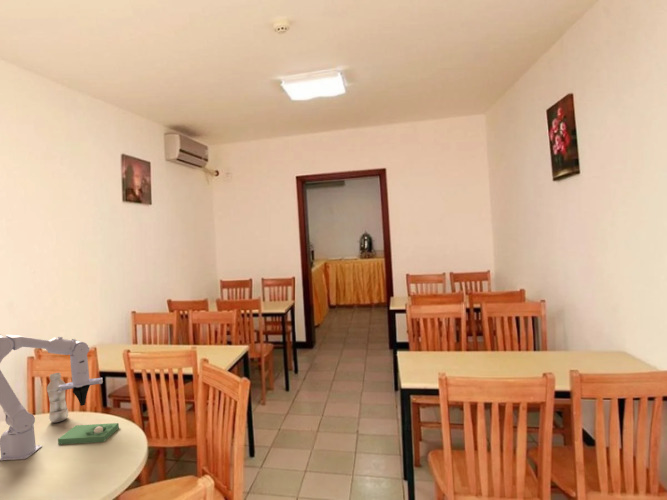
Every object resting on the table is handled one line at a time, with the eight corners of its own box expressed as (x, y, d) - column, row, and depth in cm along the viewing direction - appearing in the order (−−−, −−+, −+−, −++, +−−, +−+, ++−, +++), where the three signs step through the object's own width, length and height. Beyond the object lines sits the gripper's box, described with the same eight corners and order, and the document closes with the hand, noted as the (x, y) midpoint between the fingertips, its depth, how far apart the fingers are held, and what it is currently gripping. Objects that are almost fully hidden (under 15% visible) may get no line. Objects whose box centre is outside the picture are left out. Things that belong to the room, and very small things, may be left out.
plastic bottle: (55, 418, 165) (51, 372, 164) (72, 416, 166) (68, 370, 165) (46, 425, 159) (41, 378, 158) (63, 423, 159) (59, 376, 158)
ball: (101, 429, 147) (99, 437, 147) (105, 425, 150) (104, 433, 150) (92, 428, 147) (91, 436, 147) (97, 423, 150) (95, 431, 150)
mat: (58, 444, 143) (57, 439, 143) (76, 430, 153) (75, 425, 153) (104, 441, 143) (103, 436, 143) (118, 427, 153) (118, 423, 153)
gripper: (55, 378, 146) (58, 412, 147) (99, 370, 152) (102, 404, 153) (60, 372, 153) (63, 405, 154) (102, 365, 159) (105, 397, 159)
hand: (83, 404), depth 154 cm, fingers closed
